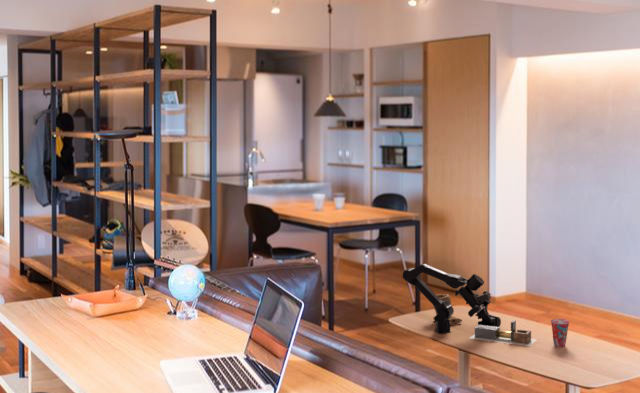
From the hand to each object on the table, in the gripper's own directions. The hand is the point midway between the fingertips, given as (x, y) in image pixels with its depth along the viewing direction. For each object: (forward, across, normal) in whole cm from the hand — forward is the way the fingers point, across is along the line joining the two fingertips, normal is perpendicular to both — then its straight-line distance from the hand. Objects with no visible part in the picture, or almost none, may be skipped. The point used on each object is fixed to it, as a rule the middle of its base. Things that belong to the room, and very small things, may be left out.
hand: (491, 321), depth 394 cm
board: (+10, 0, +2) cm, 10 cm away
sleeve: (+4, 0, +7) cm, 8 cm away
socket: (+17, 0, -5) cm, 17 cm away
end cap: (+2, +18, +11) cm, 21 cm away
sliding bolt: (+11, 0, -1) cm, 11 cm away
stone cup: (-16, +18, +28) cm, 37 cm away
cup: (+29, +1, -17) cm, 34 cm away
